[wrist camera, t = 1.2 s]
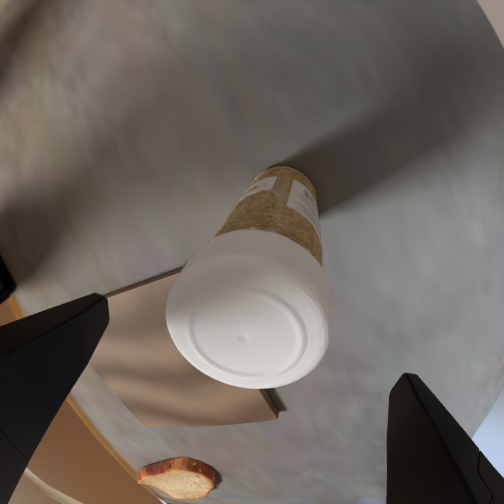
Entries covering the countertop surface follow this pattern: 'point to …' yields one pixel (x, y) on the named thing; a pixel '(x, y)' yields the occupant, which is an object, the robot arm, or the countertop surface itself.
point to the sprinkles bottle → (257, 289)
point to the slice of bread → (179, 477)
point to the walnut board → (165, 367)
